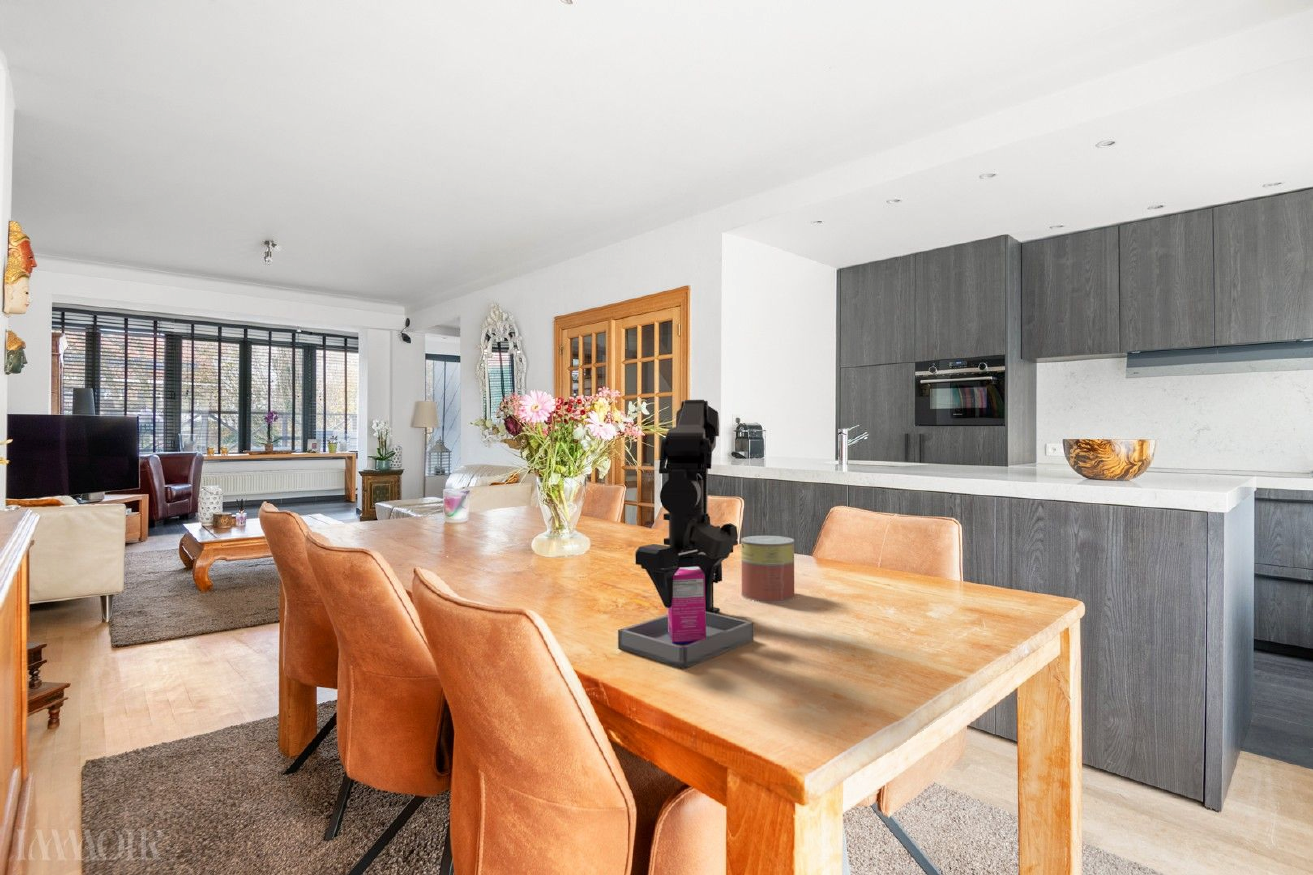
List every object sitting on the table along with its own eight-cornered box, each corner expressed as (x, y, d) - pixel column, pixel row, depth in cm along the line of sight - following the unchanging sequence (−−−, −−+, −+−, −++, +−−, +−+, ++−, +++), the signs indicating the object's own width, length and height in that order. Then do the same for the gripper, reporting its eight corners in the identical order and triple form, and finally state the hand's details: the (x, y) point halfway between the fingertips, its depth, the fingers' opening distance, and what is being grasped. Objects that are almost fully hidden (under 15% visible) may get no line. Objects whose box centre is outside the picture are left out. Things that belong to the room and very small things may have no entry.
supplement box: (666, 634, 111) (666, 566, 111) (701, 633, 112) (700, 566, 112) (670, 645, 105) (670, 574, 105) (707, 644, 106) (706, 573, 106)
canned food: (756, 586, 148) (755, 533, 148) (803, 593, 142) (803, 538, 141) (731, 597, 139) (731, 540, 139) (780, 605, 132) (780, 545, 132)
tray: (689, 623, 120) (689, 607, 120) (753, 640, 110) (753, 622, 110) (618, 648, 107) (618, 629, 107) (683, 669, 97) (683, 648, 97)
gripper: (686, 517, 96) (687, 623, 96) (759, 506, 110) (759, 599, 110) (632, 511, 104) (633, 610, 104) (706, 501, 117) (707, 588, 117)
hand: (686, 601), depth 108 cm, fingers open, 9 cm apart
